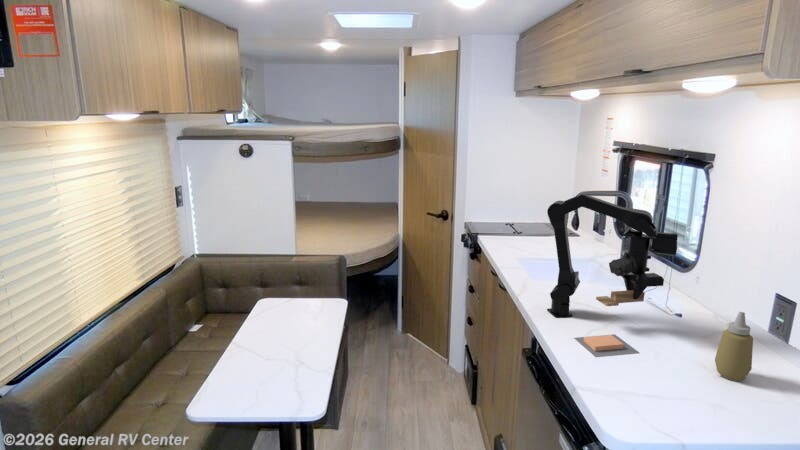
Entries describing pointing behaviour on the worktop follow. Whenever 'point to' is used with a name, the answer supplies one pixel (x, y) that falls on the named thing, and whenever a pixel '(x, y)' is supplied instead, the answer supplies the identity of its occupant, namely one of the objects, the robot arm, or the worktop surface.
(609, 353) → the mat
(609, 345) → the tile
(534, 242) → the worktop surface
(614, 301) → the turner
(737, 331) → the squeeze bottle
